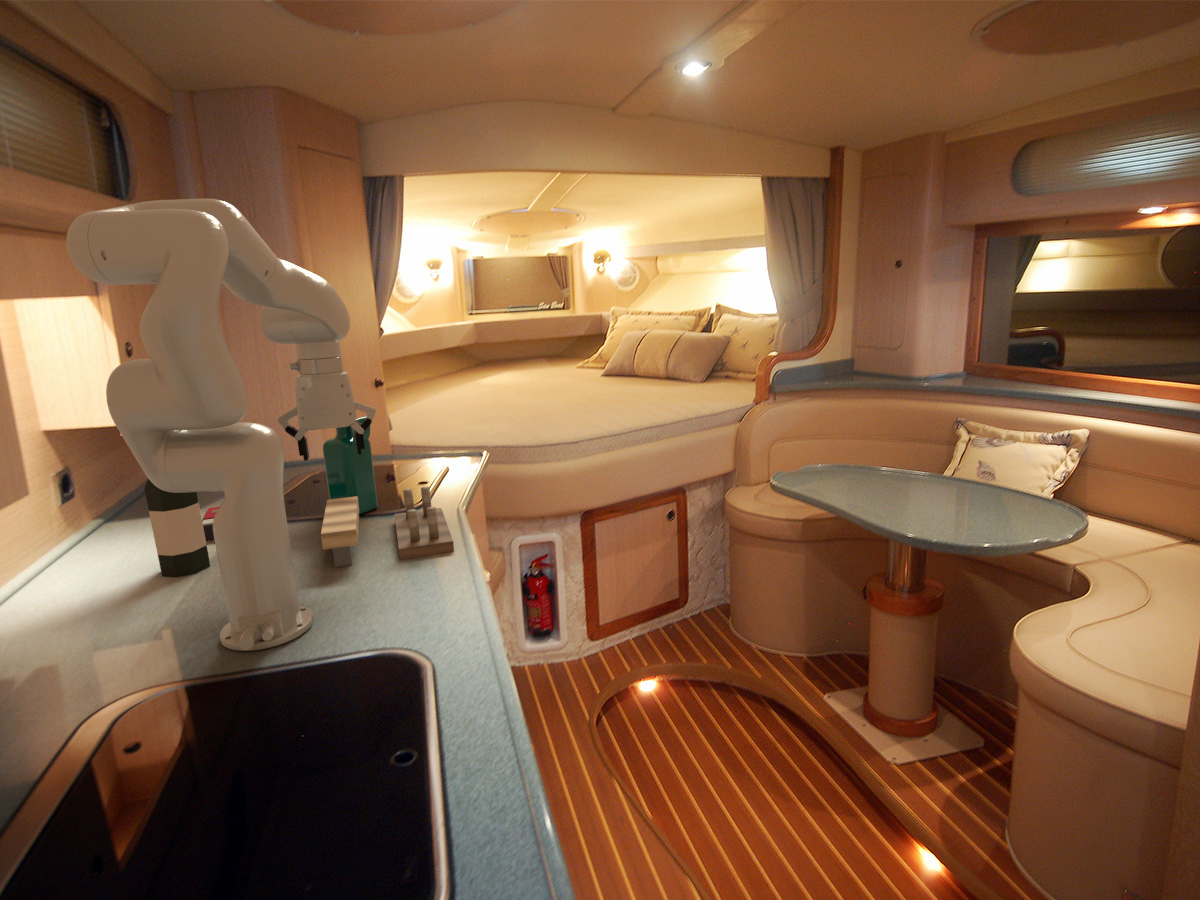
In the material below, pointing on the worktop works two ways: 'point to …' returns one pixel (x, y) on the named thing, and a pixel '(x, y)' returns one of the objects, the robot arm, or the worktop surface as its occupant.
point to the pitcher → (350, 468)
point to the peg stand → (422, 528)
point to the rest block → (343, 556)
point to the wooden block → (340, 523)
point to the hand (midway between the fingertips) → (333, 456)
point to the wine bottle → (177, 531)
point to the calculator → (209, 523)
